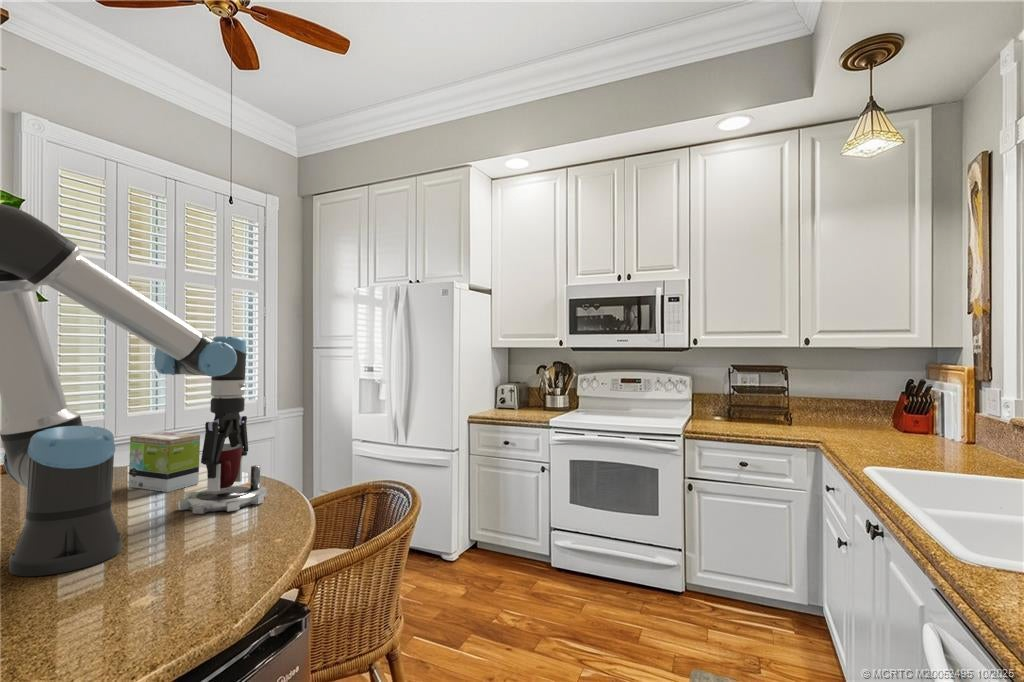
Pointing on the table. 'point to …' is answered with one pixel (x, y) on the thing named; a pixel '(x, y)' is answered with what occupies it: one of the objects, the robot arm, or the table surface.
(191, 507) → the sprocket
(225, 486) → the mug
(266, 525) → the table surface
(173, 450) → the tea box
